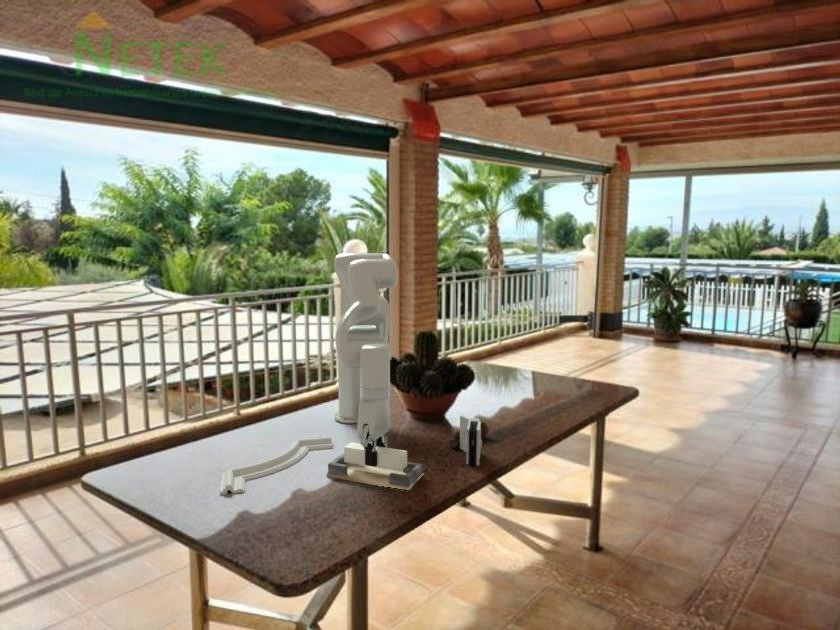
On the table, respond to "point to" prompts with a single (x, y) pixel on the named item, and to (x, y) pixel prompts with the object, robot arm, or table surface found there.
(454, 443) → the bolt
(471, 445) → the hinge
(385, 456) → the slat
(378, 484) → the cream and grey fixture
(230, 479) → the molding
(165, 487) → the table surface
